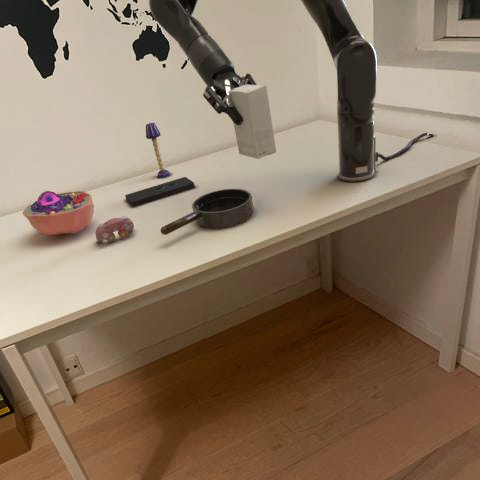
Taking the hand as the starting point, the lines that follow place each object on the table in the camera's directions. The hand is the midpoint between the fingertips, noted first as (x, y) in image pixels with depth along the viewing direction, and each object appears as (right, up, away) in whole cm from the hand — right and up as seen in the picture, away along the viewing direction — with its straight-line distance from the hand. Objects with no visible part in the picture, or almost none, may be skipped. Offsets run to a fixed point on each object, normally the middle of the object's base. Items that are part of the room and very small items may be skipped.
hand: (251, 118), depth 110 cm
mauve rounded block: (-34, -26, +12) cm, 44 cm away
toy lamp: (-28, +1, +49) cm, 57 cm away
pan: (-7, -20, +13) cm, 25 cm away
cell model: (-50, -22, +21) cm, 59 cm away
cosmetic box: (+1, -7, +5) cm, 8 cm away
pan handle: (-17, -24, +4) cm, 30 cm away
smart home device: (-27, -9, +35) cm, 45 cm away
